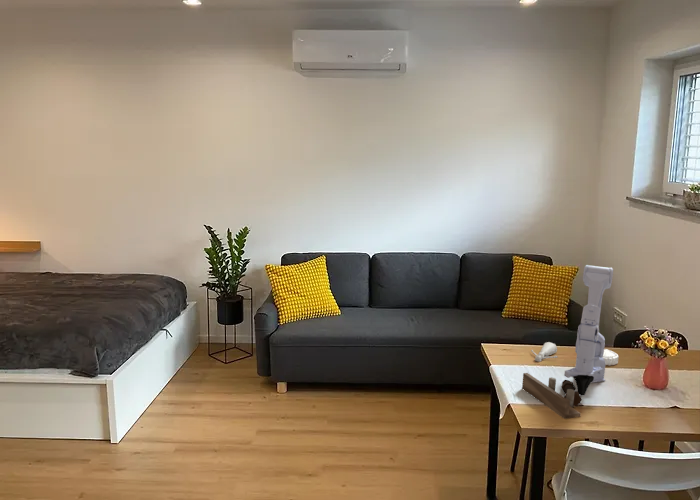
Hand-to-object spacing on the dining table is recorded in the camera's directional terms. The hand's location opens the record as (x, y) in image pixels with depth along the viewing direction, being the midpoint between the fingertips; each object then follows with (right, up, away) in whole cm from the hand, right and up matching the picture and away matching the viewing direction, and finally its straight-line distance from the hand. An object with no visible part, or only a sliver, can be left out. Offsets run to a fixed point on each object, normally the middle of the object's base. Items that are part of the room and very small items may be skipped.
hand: (581, 394), depth 211 cm
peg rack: (-12, -2, -3) cm, 12 cm away
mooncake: (+23, +5, +38) cm, 45 cm away
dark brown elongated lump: (-4, -2, +1) cm, 4 cm away
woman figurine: (0, +6, +40) cm, 41 cm away
